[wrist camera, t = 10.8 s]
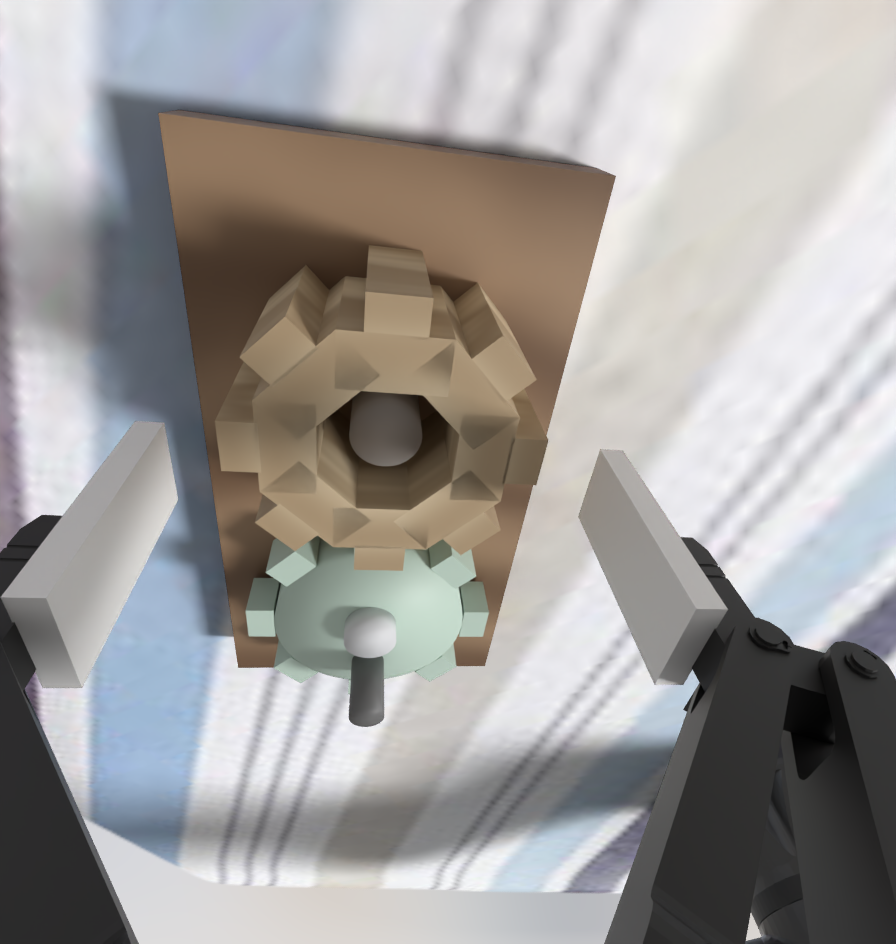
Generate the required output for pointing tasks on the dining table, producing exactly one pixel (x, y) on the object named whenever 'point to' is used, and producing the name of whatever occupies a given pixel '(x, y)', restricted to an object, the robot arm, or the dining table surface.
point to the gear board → (346, 254)
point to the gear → (366, 616)
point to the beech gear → (388, 371)
